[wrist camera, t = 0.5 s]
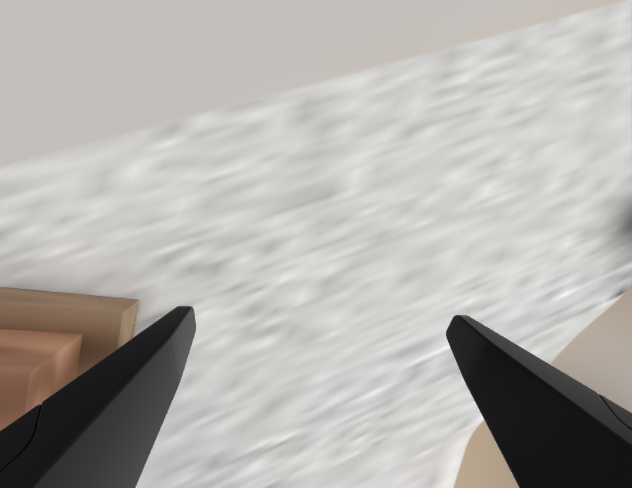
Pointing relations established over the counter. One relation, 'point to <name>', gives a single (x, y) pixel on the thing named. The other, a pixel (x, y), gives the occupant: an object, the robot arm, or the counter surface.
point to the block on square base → (54, 342)
